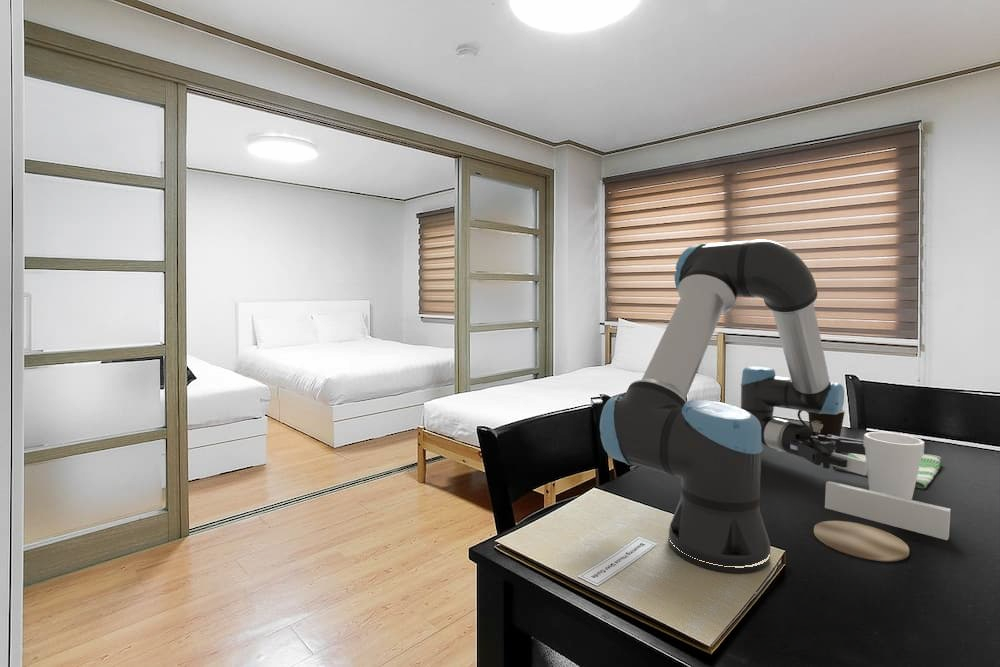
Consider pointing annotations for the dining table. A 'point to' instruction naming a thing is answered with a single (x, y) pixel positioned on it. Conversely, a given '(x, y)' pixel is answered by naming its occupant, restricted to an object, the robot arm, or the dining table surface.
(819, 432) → the coffee mug
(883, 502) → the low wall
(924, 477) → the dish towel
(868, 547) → the cork coaster
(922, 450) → the foam cup
